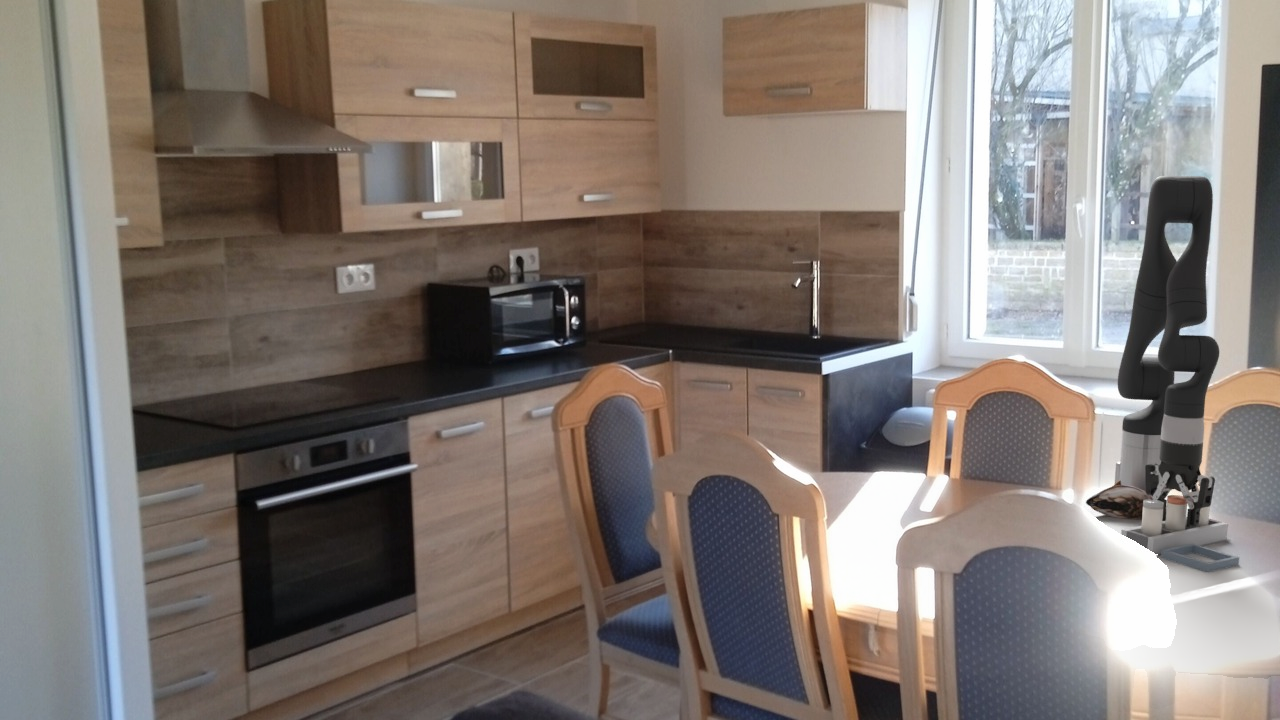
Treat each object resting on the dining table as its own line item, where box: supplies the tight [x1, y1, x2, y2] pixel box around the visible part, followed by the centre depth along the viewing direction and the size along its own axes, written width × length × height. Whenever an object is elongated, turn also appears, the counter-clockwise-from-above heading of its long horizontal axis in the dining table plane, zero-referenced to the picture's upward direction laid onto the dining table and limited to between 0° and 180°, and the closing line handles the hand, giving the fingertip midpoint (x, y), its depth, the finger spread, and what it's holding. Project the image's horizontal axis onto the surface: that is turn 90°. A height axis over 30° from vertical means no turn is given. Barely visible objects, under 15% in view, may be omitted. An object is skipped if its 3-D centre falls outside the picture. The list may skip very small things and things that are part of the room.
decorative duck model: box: [1085, 480, 1166, 521], centre depth 258 cm, size 15×8×15 cm
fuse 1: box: [1140, 499, 1164, 537], centre depth 238 cm, size 4×4×9 cm
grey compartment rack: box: [1120, 516, 1231, 557], centre depth 242 cm, size 8×23×4 cm, turn 120°
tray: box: [1160, 544, 1240, 573], centre depth 230 cm, size 10×9×3 cm
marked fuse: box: [1165, 494, 1188, 532], centre depth 241 cm, size 4×4×9 cm
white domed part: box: [1197, 505, 1211, 527], centre depth 245 cm, size 4×4×9 cm
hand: (1175, 522), depth 241 cm, fingers open, 6 cm apart
